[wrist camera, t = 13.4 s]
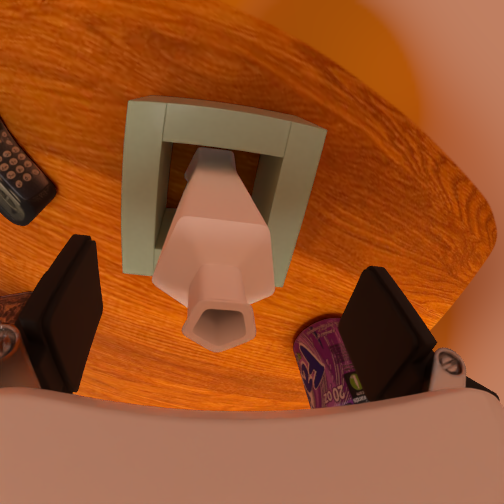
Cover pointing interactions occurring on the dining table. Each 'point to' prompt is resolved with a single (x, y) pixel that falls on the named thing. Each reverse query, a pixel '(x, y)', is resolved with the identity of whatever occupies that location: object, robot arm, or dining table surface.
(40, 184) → the mobile phone
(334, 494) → the robot arm
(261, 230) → the perfume bottle
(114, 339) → the dining table surface
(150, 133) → the holder
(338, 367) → the beverage can
